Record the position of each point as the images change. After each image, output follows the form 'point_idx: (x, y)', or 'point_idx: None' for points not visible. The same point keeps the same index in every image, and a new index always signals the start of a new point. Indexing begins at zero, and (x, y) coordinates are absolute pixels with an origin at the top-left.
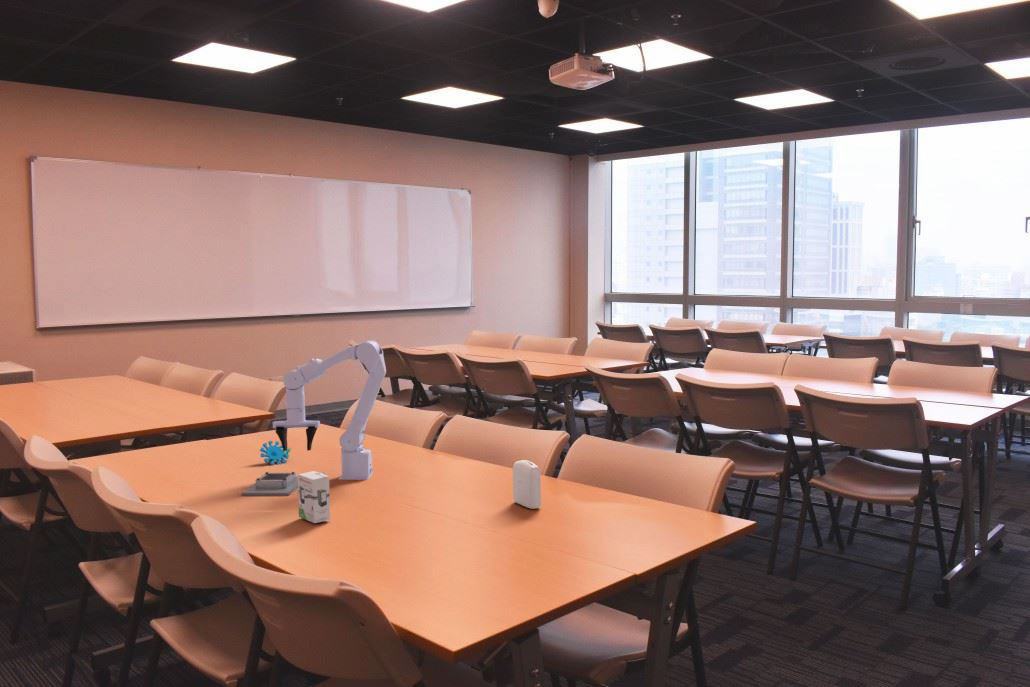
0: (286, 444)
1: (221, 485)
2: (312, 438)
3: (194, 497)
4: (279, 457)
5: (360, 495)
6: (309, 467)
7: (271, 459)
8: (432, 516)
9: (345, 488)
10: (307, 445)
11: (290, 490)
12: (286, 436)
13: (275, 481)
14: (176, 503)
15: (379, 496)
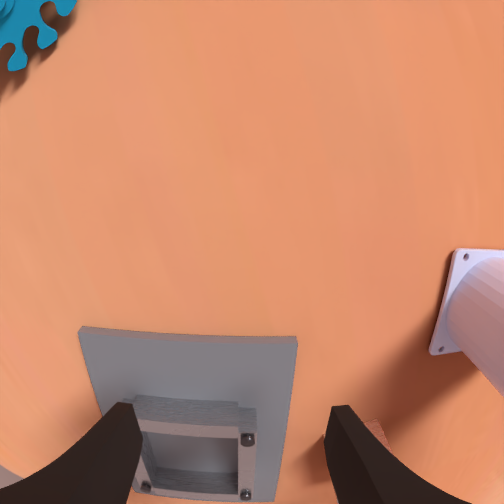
0: (120, 444)
1: (7, 385)
2: (394, 473)
3: (39, 467)
4: (32, 10)
5: (450, 461)
6: (231, 53)
7: (3, 44)
8: (497, 491)
9: (433, 429)
10: (335, 479)
11: (272, 490)
12: (87, 487)
13: (215, 498)
14: None
15: (480, 454)
